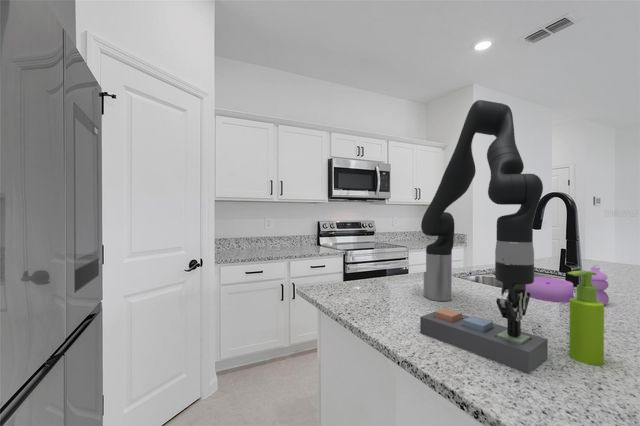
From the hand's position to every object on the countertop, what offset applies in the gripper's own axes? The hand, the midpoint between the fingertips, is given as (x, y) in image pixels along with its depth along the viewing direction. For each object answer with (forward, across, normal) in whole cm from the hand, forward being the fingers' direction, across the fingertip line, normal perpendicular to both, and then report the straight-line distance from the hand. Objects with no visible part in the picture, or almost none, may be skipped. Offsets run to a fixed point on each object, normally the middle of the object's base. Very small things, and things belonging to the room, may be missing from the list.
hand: (513, 335), depth 69 cm
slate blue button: (+2, 0, -8) cm, 8 cm away
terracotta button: (+2, 0, -16) cm, 16 cm away
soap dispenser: (+5, -12, +10) cm, 16 cm away
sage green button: (+3, 0, 0) cm, 3 cm away
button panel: (+5, 0, -8) cm, 9 cm away
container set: (+5, -67, -8) cm, 68 cm away
